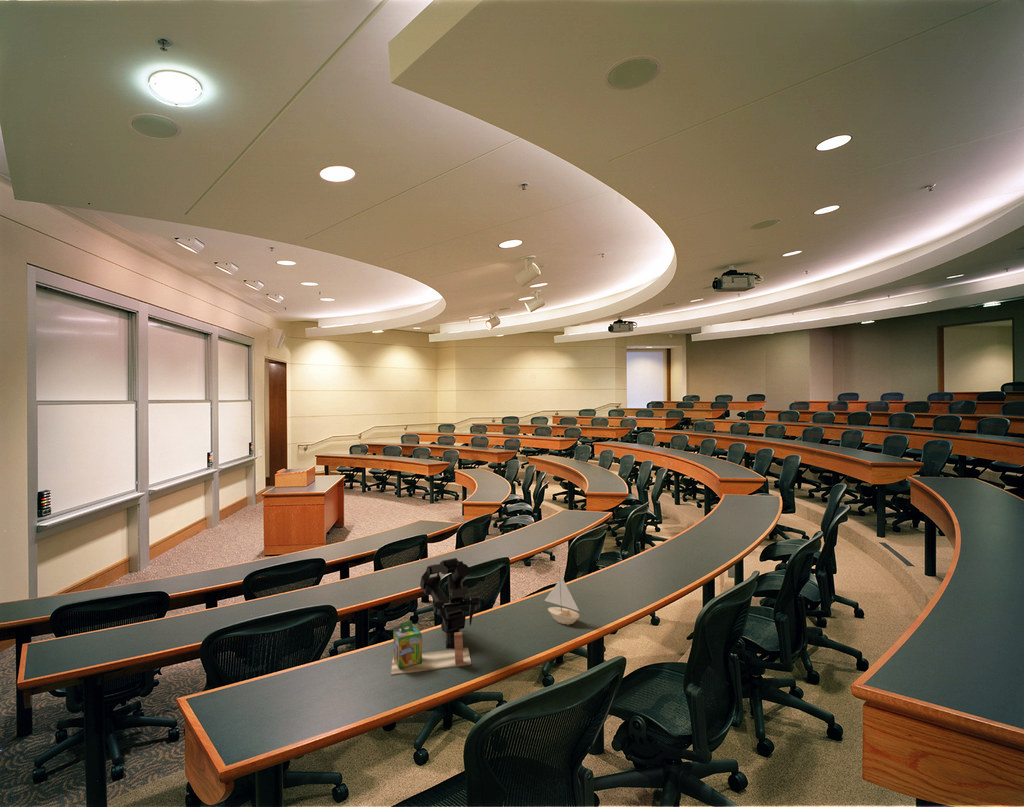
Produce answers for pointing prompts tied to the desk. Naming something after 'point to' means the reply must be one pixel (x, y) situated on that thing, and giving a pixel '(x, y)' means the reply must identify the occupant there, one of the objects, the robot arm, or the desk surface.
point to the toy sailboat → (562, 603)
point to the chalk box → (407, 646)
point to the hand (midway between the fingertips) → (458, 626)
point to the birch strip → (439, 659)
